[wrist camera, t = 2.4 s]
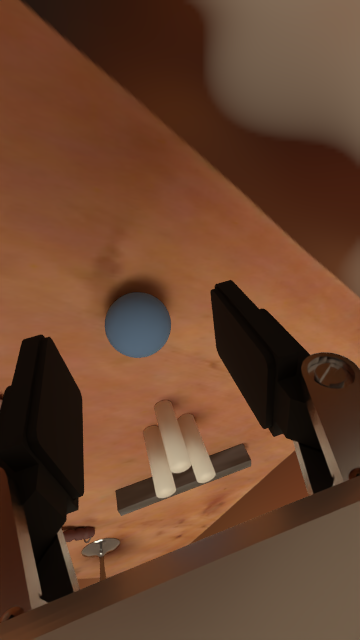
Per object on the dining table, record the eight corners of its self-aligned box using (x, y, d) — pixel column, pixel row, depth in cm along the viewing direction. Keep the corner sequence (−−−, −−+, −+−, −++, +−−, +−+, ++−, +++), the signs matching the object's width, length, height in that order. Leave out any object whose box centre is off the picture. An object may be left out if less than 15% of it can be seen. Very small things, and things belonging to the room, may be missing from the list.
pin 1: (141, 429, 41) (154, 491, 34) (158, 423, 41) (174, 483, 34) (145, 438, 42) (158, 500, 35) (161, 433, 42) (177, 493, 36)
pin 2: (176, 417, 41) (195, 475, 35) (192, 411, 42) (214, 468, 35) (178, 427, 43) (197, 485, 36) (194, 421, 43) (216, 478, 36)
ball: (94, 290, 28) (97, 327, 23) (156, 273, 28) (172, 305, 24) (112, 339, 31) (119, 379, 26) (167, 323, 32) (183, 359, 27)
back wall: (115, 490, 47) (117, 510, 45) (242, 443, 50) (251, 459, 48) (119, 496, 49) (121, 515, 46) (243, 449, 51) (251, 466, 49)
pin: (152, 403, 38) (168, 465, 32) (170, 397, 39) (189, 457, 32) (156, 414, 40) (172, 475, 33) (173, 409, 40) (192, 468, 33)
